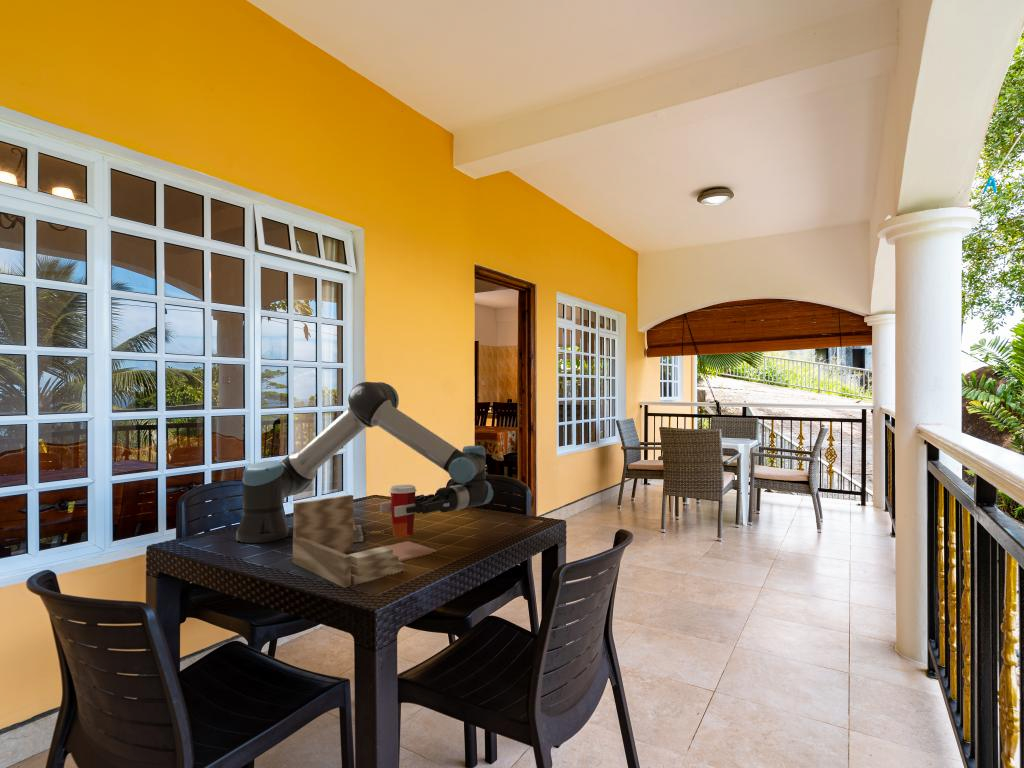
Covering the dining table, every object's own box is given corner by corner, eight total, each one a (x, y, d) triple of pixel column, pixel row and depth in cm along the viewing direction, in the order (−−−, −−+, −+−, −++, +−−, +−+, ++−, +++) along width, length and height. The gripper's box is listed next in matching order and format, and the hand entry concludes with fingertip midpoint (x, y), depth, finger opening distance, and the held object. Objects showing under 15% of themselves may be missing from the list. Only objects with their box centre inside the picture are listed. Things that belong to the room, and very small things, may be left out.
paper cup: (410, 530, 161) (410, 483, 161) (420, 536, 155) (420, 486, 155) (385, 534, 157) (385, 485, 157) (394, 540, 150) (394, 489, 151)
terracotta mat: (407, 543, 165) (407, 541, 165) (436, 552, 156) (436, 550, 156) (367, 552, 155) (367, 550, 155) (395, 562, 146) (395, 560, 146)
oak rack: (350, 549, 158) (350, 494, 158) (405, 570, 139) (405, 508, 139) (292, 562, 146) (293, 503, 146) (344, 587, 127) (344, 519, 127)
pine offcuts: (392, 567, 142) (392, 544, 142) (404, 571, 138) (404, 548, 138) (343, 580, 132) (343, 555, 132) (355, 585, 128) (355, 560, 128)
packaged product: (364, 527, 167) (330, 530, 164) (364, 543, 167) (330, 546, 164) (360, 515, 184) (329, 517, 181) (360, 529, 184) (329, 532, 181)
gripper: (472, 515, 162) (408, 529, 145) (431, 506, 175) (369, 518, 159) (472, 490, 162) (408, 501, 145) (431, 483, 176) (369, 492, 159)
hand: (387, 510), depth 152 cm, fingers closed on paper cup, 7 cm apart
